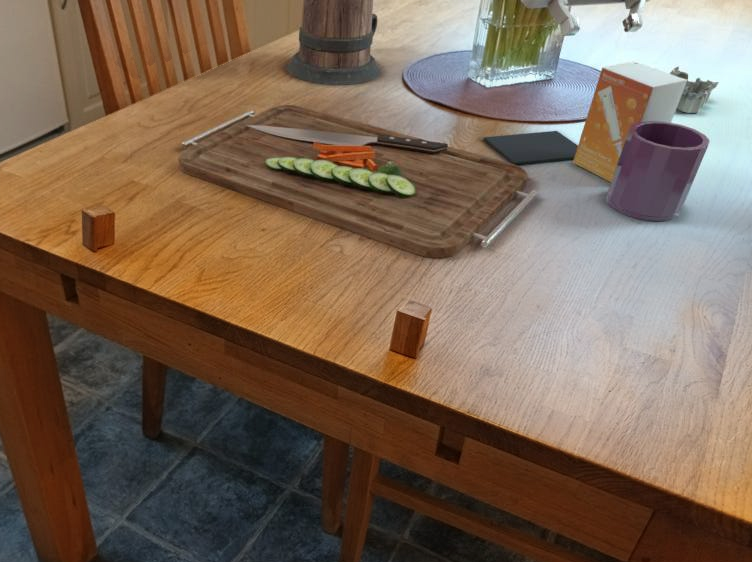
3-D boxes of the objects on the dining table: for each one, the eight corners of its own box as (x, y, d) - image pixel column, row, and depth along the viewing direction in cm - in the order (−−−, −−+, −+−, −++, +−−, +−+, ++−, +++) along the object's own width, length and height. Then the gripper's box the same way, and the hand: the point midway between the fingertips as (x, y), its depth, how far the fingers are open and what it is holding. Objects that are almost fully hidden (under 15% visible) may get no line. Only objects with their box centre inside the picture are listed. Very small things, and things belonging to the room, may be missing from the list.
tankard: (354, 91, 120) (367, -45, 107) (268, 72, 126) (270, -57, 114) (409, 56, 135) (426, -66, 123) (330, 41, 142) (338, -76, 129)
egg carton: (667, 89, 124) (676, 65, 121) (714, 100, 120) (724, 74, 117) (647, 105, 117) (656, 79, 115) (695, 117, 113) (706, 90, 111)
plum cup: (649, 186, 94) (675, 118, 88) (695, 217, 87) (726, 146, 82) (592, 192, 92) (614, 124, 86) (634, 224, 86) (661, 152, 80)
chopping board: (154, 162, 97) (152, 140, 95) (270, 106, 114) (270, 86, 112) (466, 271, 77) (471, 246, 75) (549, 183, 94) (556, 161, 92)
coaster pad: (555, 133, 107) (556, 130, 107) (591, 157, 101) (591, 154, 100) (483, 139, 105) (483, 137, 105) (514, 165, 98) (515, 162, 98)
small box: (571, 164, 99) (600, 66, 90) (604, 155, 101) (635, 60, 93) (617, 187, 93) (653, 86, 85) (651, 178, 96) (689, 78, 87)
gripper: (525, -82, 91) (546, 22, 90) (663, -85, 95) (685, 13, 94) (500, -48, 97) (520, 49, 96) (631, -53, 101) (651, 40, 100)
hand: (603, 31), depth 95 cm, fingers open, 8 cm apart
